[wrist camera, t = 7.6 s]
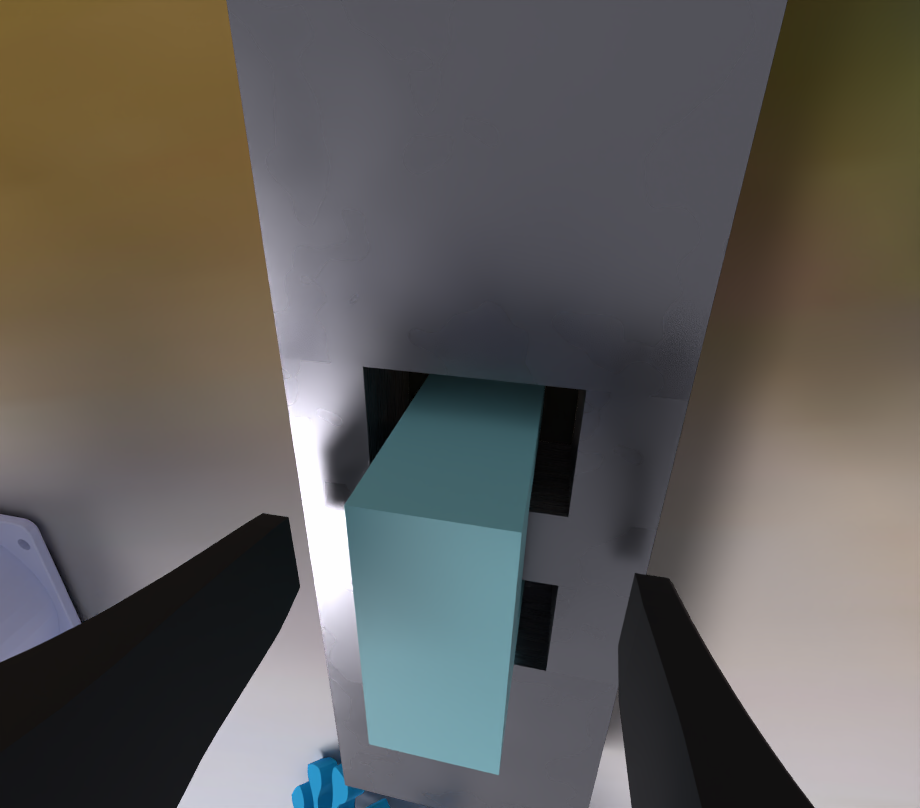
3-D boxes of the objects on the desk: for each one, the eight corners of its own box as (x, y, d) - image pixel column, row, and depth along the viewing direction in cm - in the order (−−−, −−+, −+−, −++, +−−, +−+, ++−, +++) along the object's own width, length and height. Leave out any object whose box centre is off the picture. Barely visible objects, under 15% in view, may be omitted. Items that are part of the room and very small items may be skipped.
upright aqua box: (526, 565, 16) (499, 775, 11) (437, 550, 16) (369, 744, 11) (547, 372, 13) (522, 533, 8) (437, 361, 13) (343, 504, 8)
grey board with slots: (580, 749, 19) (579, 844, 17) (375, 703, 21) (344, 785, 18) (765, -129, 8) (848, -252, 6) (302, -100, 10) (198, -188, 7)
